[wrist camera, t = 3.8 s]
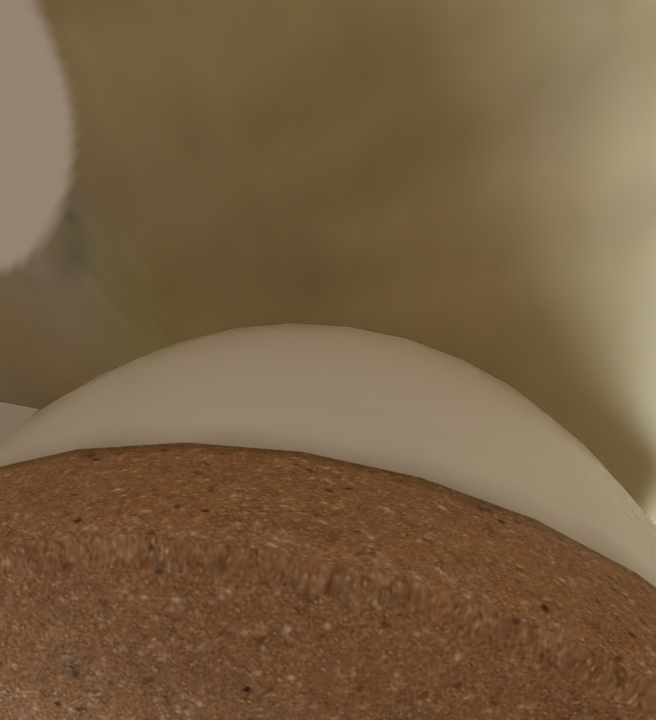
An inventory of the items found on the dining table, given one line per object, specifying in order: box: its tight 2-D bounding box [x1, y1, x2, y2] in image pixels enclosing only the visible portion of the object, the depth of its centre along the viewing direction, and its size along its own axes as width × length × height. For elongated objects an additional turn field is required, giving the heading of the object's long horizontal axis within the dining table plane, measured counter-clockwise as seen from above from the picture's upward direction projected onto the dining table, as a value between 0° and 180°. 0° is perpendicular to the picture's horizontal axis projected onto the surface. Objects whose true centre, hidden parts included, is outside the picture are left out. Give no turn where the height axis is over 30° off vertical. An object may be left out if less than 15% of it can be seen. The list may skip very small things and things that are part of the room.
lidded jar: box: [0, 323, 656, 720], centre depth 8 cm, size 11×11×9 cm
